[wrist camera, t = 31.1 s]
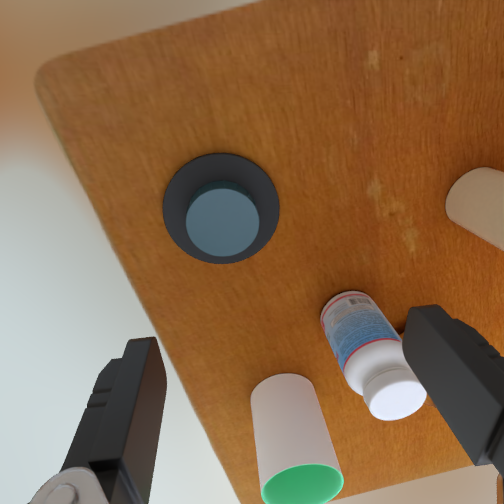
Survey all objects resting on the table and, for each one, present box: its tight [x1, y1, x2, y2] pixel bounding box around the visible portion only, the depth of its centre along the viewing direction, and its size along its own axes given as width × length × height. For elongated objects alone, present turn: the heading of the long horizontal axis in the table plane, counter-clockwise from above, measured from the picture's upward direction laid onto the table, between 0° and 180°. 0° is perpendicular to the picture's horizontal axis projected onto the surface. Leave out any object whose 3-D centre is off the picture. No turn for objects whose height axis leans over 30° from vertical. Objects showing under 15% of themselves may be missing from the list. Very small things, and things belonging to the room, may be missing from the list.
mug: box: [251, 373, 344, 504], centre depth 37 cm, size 12×8×10 cm
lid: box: [186, 180, 260, 256], centre depth 27 cm, size 6×6×2 cm
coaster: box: [163, 153, 279, 264], centre depth 28 cm, size 10×10×1 cm
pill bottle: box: [320, 291, 427, 420], centre depth 30 cm, size 6×6×11 cm
